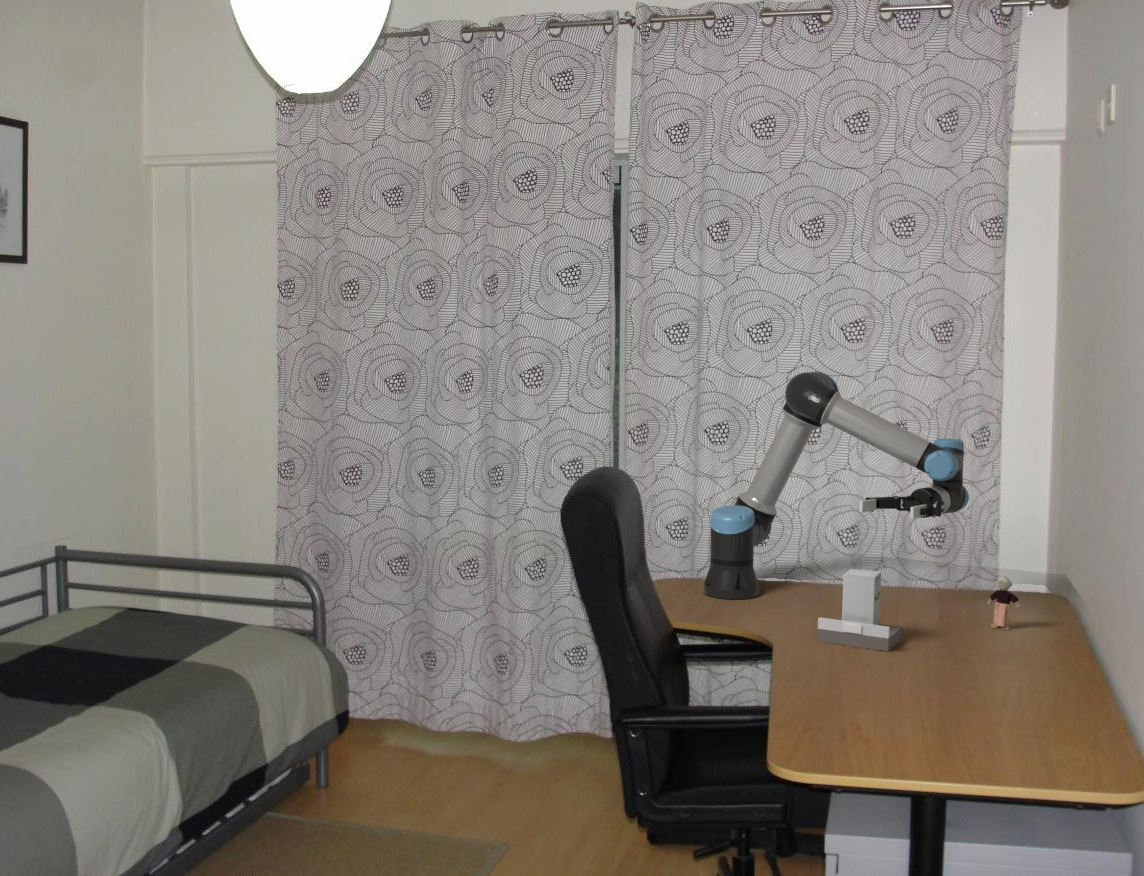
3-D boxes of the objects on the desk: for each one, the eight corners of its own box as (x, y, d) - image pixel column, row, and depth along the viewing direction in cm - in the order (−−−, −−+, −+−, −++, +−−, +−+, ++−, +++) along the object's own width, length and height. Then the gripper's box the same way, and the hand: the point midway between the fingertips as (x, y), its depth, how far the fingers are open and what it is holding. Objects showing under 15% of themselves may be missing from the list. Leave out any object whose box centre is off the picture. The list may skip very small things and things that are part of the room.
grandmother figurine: (984, 628, 261) (986, 576, 260) (986, 624, 265) (988, 573, 264) (1019, 632, 258) (1021, 579, 257) (1020, 628, 261) (1022, 576, 260)
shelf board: (816, 641, 247) (817, 618, 247) (833, 630, 258) (834, 607, 258) (887, 652, 239) (888, 628, 239) (901, 639, 250) (902, 616, 250)
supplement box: (873, 632, 245) (875, 576, 244) (840, 628, 248) (842, 573, 247) (880, 625, 251) (882, 571, 250) (848, 621, 255) (849, 568, 254)
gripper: (975, 522, 269) (933, 531, 254) (884, 511, 287) (840, 519, 272) (976, 492, 268) (934, 499, 254) (885, 482, 286) (841, 489, 271)
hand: (885, 509), depth 263 cm, fingers open, 13 cm apart
